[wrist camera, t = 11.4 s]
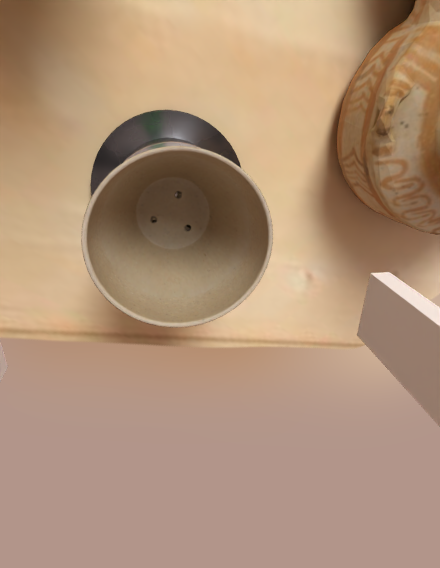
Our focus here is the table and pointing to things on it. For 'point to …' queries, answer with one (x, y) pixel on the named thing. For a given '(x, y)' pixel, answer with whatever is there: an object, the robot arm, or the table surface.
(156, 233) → the flower pot
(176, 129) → the grey top hat
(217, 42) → the table surface
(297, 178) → the table surface
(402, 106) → the ceramic vessel
